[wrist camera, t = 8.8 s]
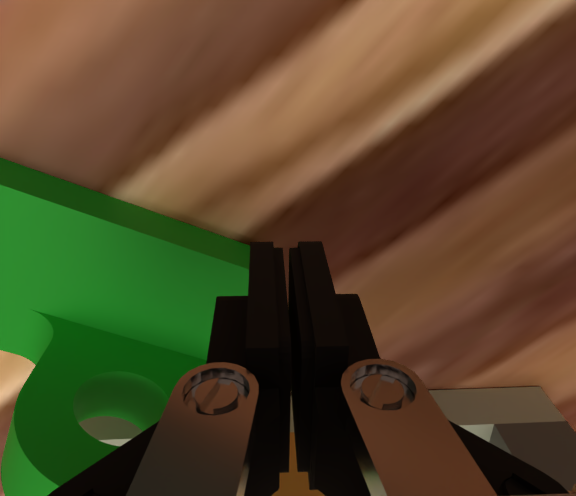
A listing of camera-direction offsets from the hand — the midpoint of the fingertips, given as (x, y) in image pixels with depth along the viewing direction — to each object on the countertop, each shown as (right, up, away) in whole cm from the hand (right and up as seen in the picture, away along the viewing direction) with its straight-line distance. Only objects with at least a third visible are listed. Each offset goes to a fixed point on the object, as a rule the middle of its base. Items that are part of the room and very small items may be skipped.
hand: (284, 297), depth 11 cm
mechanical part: (-8, +1, +6) cm, 10 cm away
